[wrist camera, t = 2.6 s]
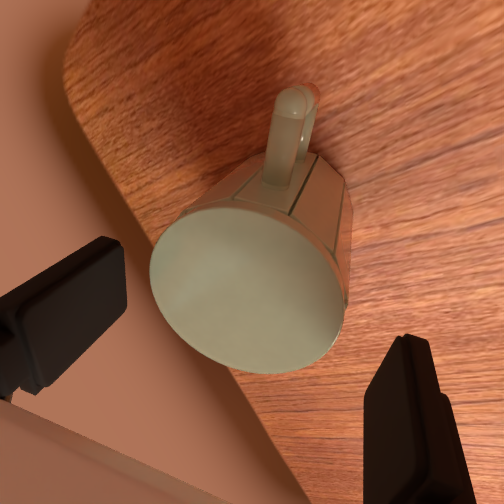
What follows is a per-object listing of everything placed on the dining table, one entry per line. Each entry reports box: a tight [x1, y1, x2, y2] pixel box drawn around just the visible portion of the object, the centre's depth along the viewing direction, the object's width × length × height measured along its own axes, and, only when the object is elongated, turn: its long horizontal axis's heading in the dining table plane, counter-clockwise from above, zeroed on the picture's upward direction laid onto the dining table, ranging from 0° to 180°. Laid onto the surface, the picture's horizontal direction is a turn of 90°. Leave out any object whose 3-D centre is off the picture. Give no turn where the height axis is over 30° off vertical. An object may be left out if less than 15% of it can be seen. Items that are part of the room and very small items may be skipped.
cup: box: [150, 83, 353, 374], centre depth 13 cm, size 7×10×8 cm
